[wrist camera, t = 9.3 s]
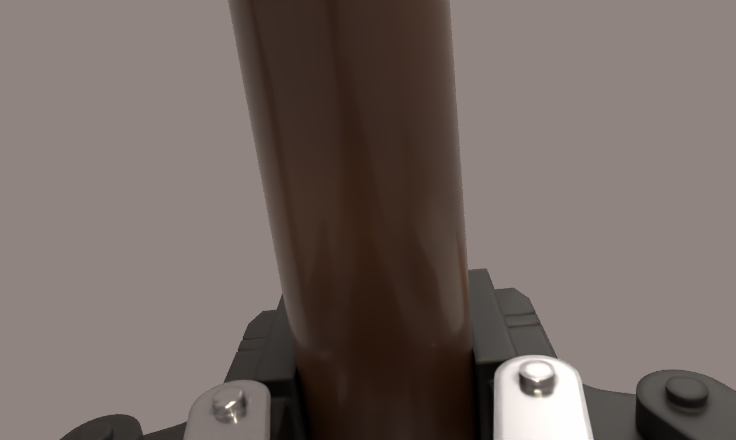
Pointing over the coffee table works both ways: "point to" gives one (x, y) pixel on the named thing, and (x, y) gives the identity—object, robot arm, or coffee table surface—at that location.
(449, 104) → the rod
